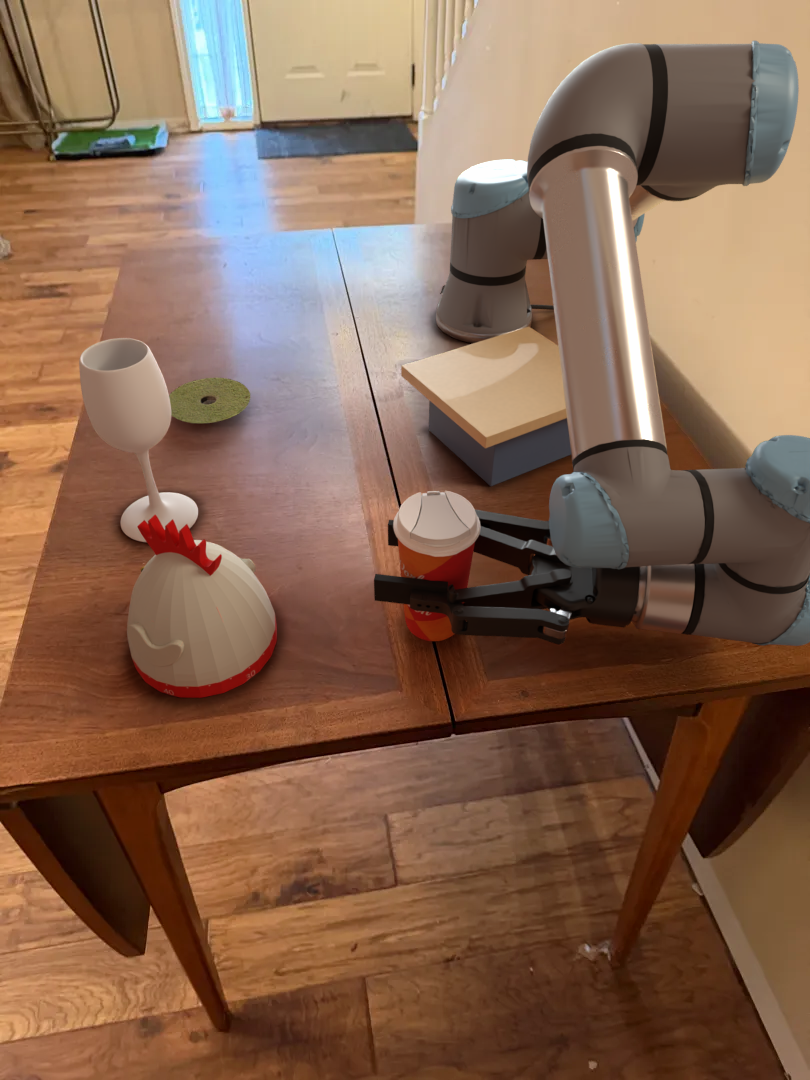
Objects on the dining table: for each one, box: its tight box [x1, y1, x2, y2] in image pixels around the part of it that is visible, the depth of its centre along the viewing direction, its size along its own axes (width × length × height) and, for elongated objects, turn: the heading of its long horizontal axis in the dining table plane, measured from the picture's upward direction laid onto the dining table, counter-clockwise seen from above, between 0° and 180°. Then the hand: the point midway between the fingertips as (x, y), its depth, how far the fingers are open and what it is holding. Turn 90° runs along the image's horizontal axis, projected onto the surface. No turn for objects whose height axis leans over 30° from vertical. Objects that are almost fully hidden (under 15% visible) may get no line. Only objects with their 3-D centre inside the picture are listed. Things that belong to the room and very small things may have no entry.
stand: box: [400, 327, 572, 487], centre depth 98 cm, size 20×18×10 cm
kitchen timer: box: [126, 515, 278, 699], centre depth 71 cm, size 14×14×15 cm
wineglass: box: [78, 337, 199, 543], centre depth 82 cm, size 9×9×21 cm
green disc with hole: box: [169, 377, 252, 424], centre depth 105 cm, size 11×11×2 cm
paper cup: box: [393, 490, 481, 642], centre depth 72 cm, size 8×8×14 cm
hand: (382, 559), depth 72 cm, fingers closed on paper cup, 7 cm apart
